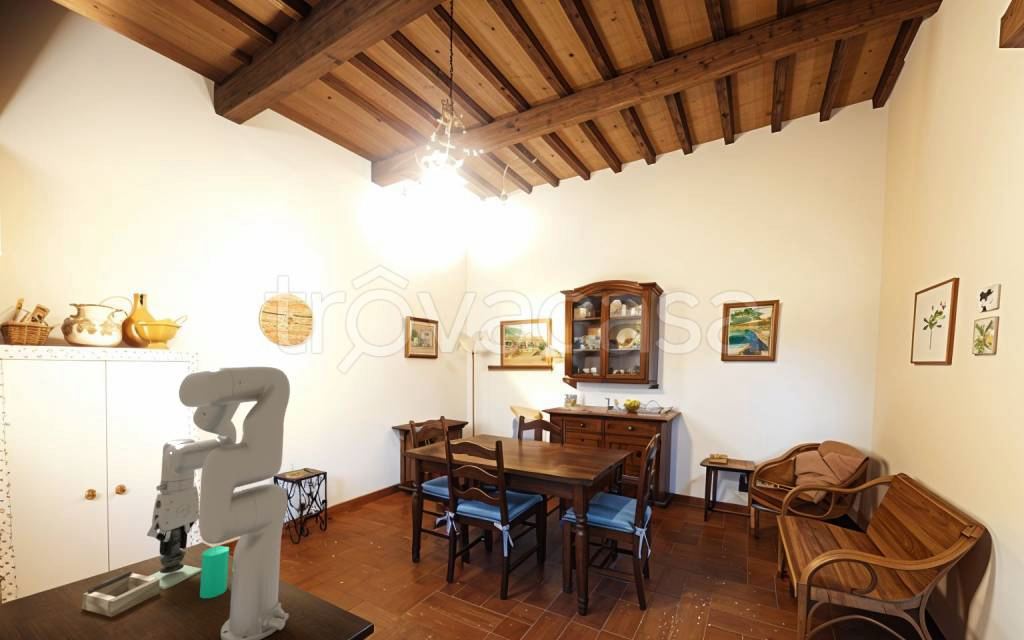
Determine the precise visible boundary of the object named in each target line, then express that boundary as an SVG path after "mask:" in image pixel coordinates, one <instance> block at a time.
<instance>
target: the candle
mask: <svg viewBox="0 0 1024 640" xmlns="http://www.w3.org/2000/svg"><path fill="white" fill-rule="evenodd" d="M229 554H230V547H229V546H222V545H215V546H212V547H210V548H209V549H206V550H205V551H204V552H202V553H201V567H200V568H201V572H200V584H199V585H200V589H199V597H200V598H202V599H211V598H215V597H218V596H220V595H223V594H224V593H225V592H226V591H227V589H228V588H227V587H228V575H229V574H228V573H229V557H230V555H229Z"/></svg>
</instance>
